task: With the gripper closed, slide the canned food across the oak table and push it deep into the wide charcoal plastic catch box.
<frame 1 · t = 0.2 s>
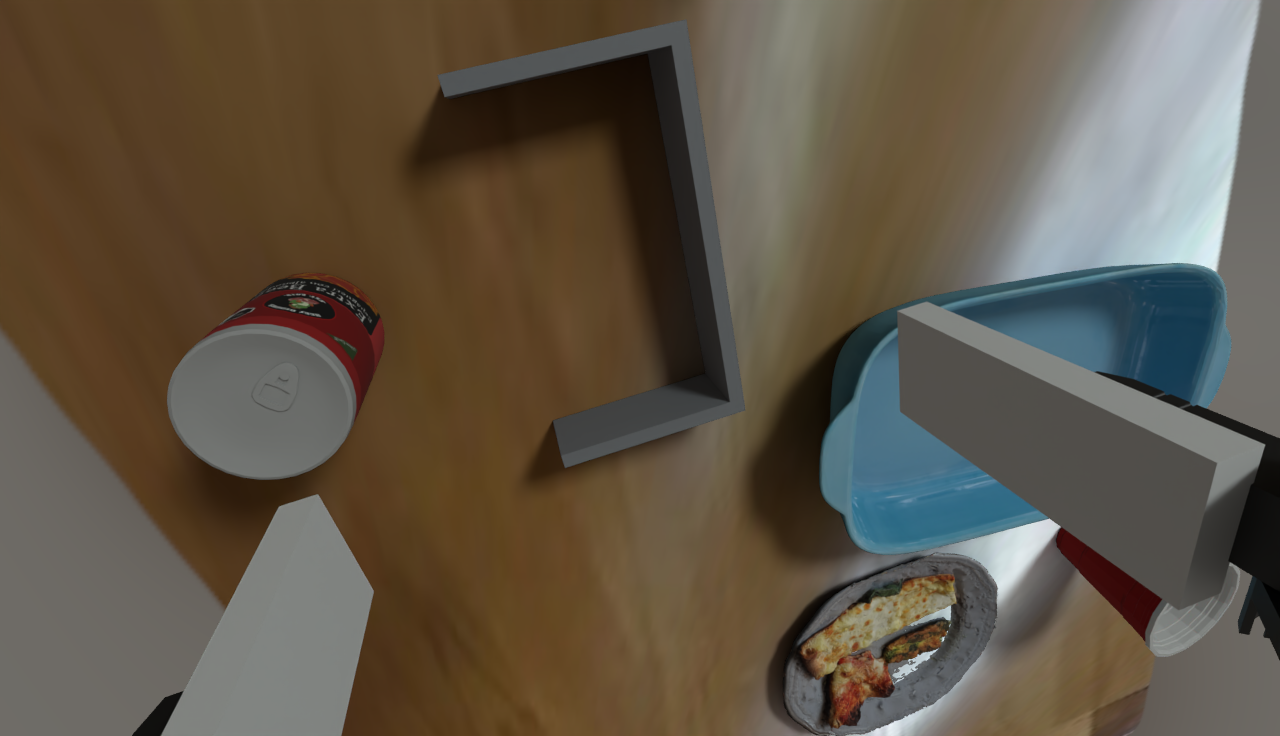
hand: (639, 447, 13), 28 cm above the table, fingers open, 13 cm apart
canned food: (321, 329, 37), on the table
casserole dish: (971, 381, 53), on the table
plastic cup: (1078, 529, 64), on the table
catch box: (595, 255, 39), on the table
food plate: (879, 634, 63), on the table
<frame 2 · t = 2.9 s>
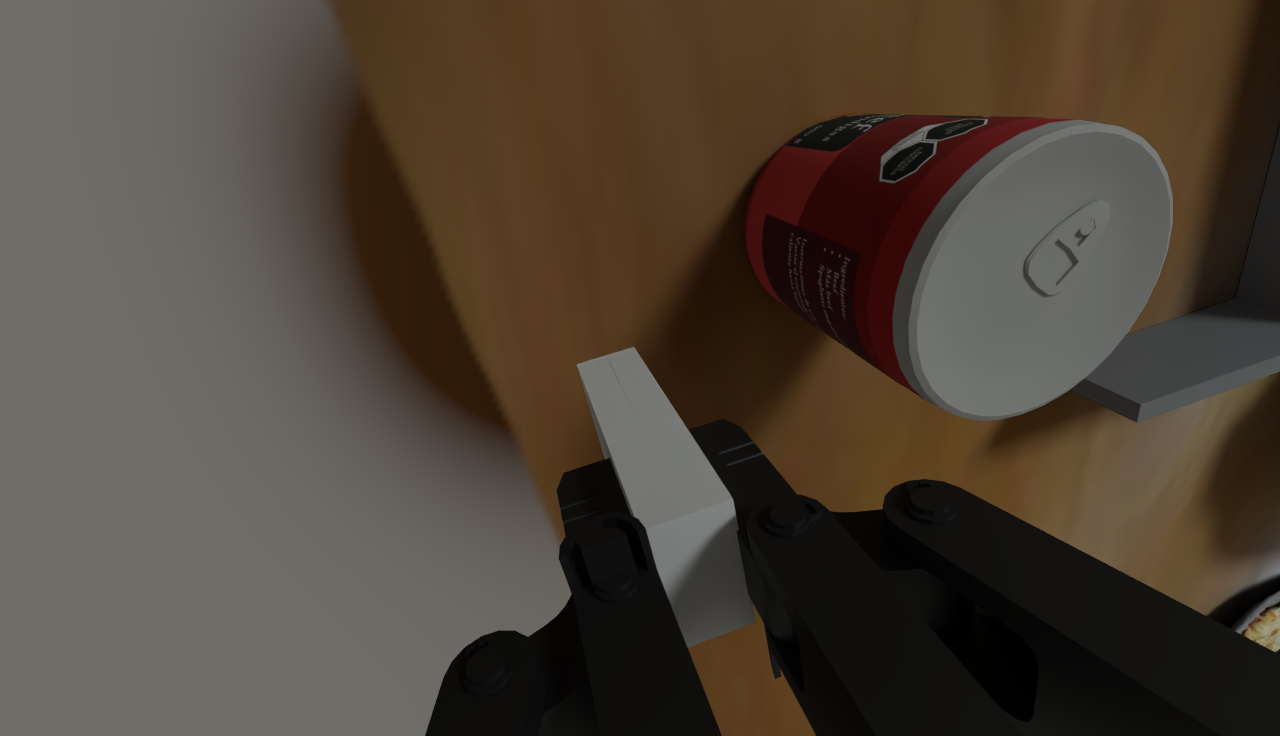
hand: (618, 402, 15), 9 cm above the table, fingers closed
canned food: (821, 214, 25), on the table
catch box: (1184, 112, 27), on the table
food plate: (1260, 645, 51), on the table
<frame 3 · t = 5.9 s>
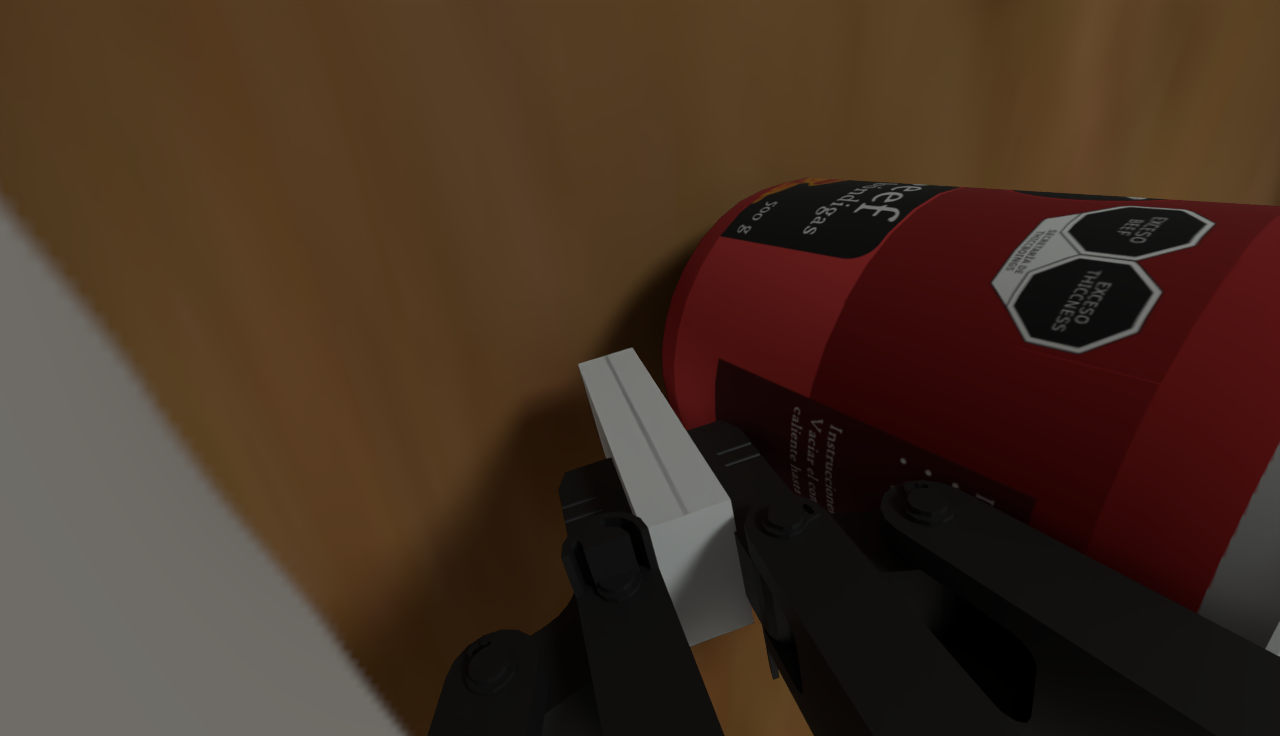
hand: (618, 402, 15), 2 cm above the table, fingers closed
canned food: (759, 322, 17), point 1 cm above the table, touching gripper, hand
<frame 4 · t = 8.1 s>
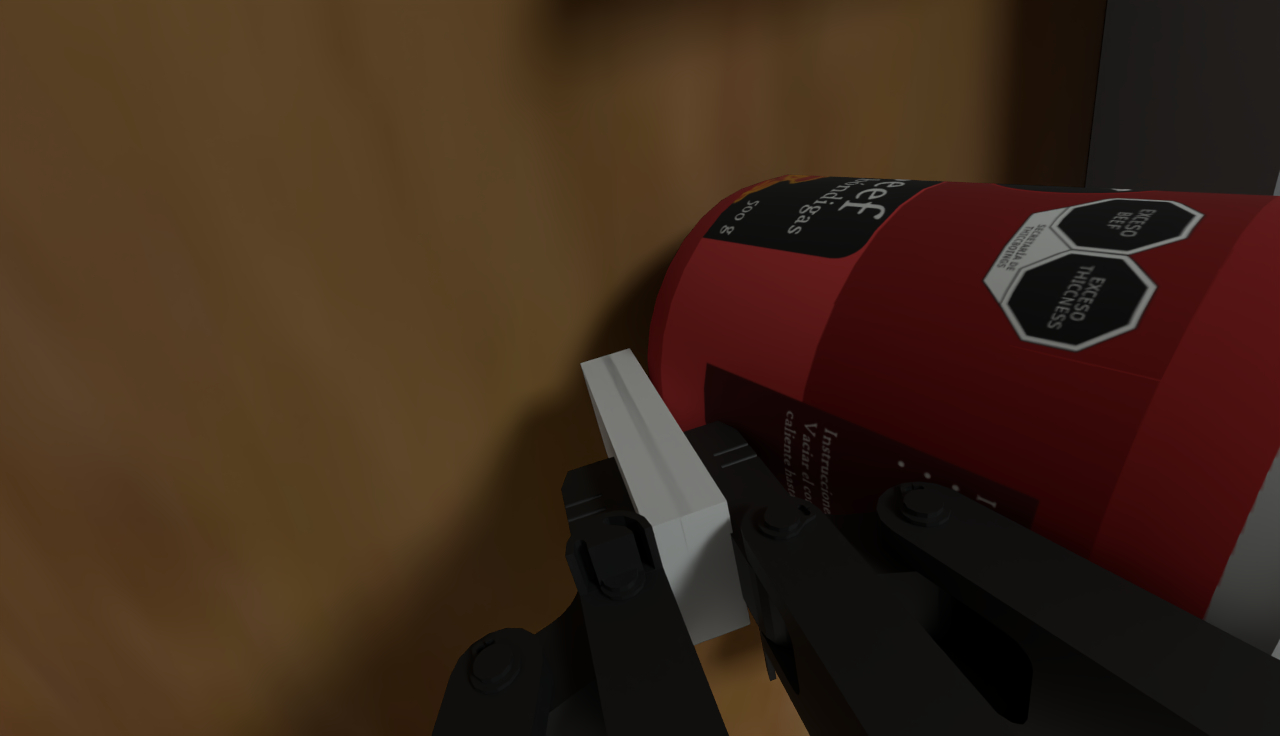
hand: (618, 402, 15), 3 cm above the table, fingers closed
canned food: (743, 321, 16), point 1 cm above the table, touching gripper, hand
catch box: (915, 241, 18), on the table
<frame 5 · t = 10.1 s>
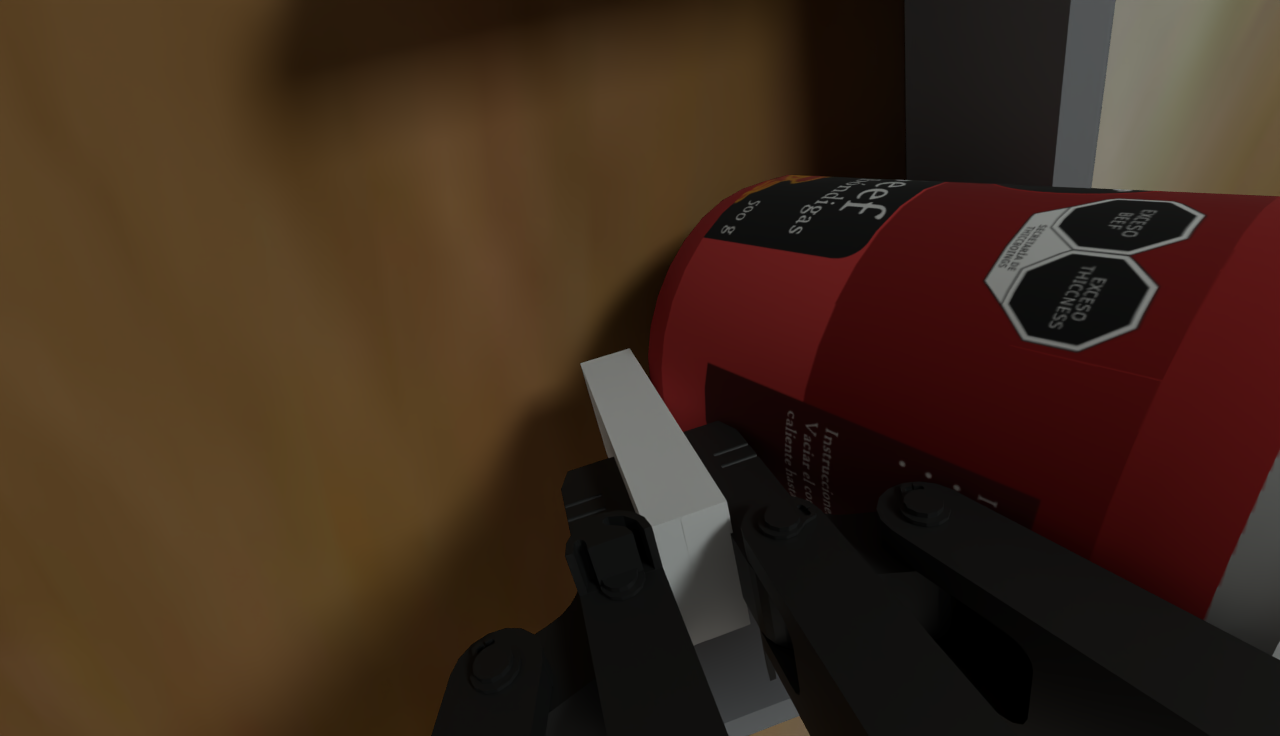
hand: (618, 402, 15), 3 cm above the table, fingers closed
canned food: (744, 321, 16), point 1 cm above the table, touching gripper, hand
catch box: (725, 301, 18), on the table
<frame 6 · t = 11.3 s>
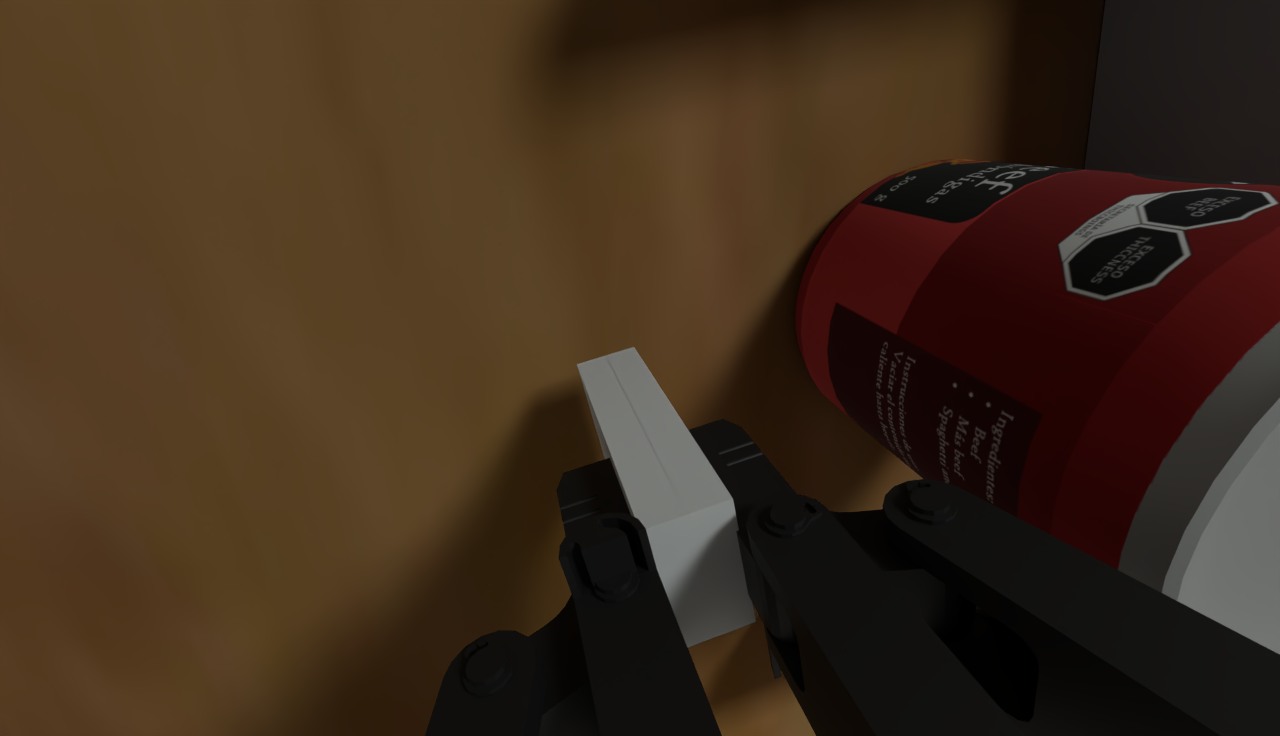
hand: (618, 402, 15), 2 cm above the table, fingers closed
canned food: (898, 289, 18), on the table
catch box: (909, 288, 18), on the table
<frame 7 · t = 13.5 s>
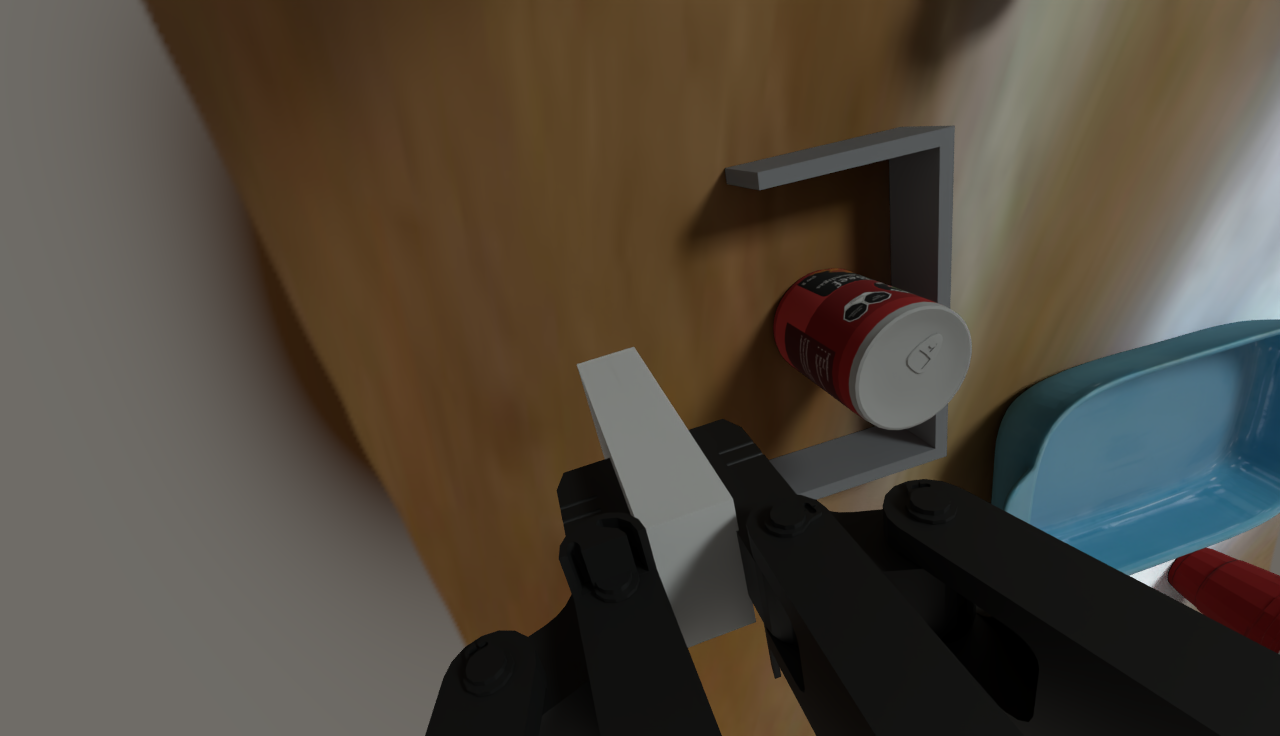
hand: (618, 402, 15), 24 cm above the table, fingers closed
canned food: (816, 317, 44), on the table
casserole dish: (1111, 429, 57), on the table
plastic cup: (1187, 564, 68), on the table
catch box: (820, 316, 44), on the table
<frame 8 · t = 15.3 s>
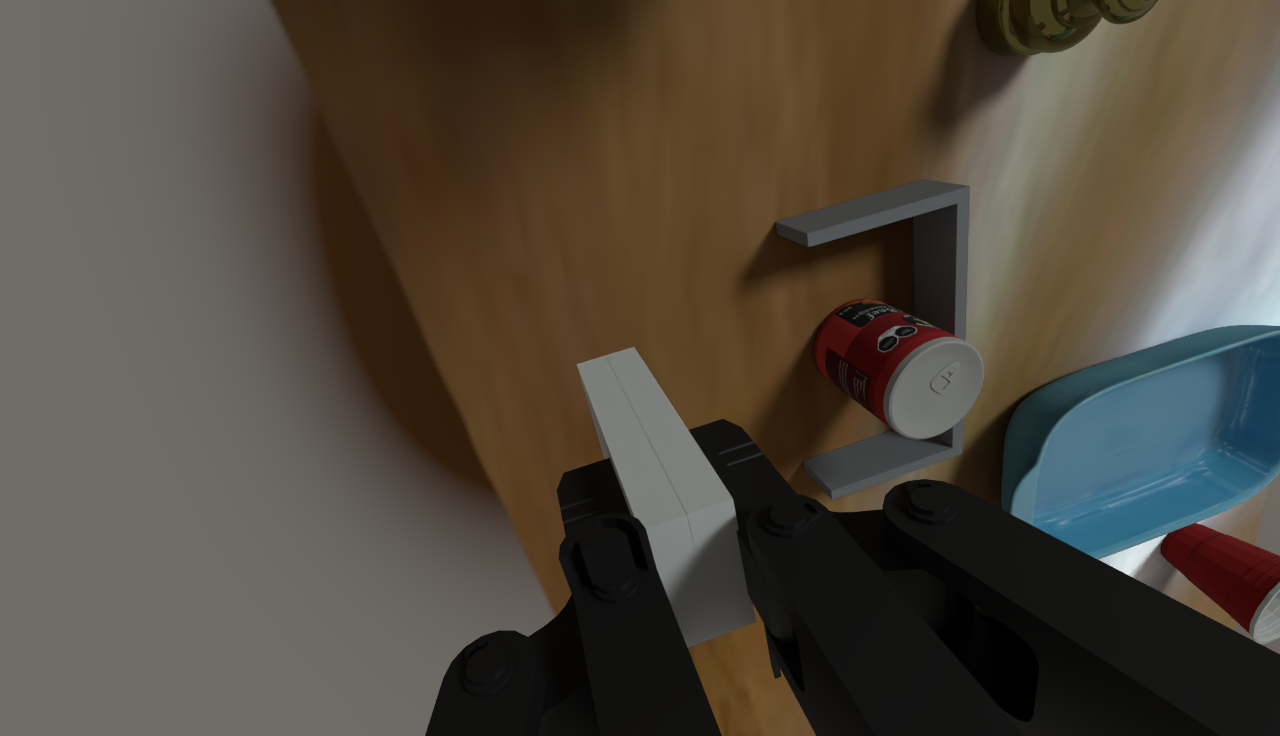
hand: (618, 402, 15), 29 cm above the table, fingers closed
canned food: (850, 338, 52), on the table
casserole dish: (1108, 423, 65), on the table
plastic cup: (1178, 538, 76), on the table
catch box: (853, 338, 52), on the table
olive green lumpy figure: (1015, 1, 44), on the table
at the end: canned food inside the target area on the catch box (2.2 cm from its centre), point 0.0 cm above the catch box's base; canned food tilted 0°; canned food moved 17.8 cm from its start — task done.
